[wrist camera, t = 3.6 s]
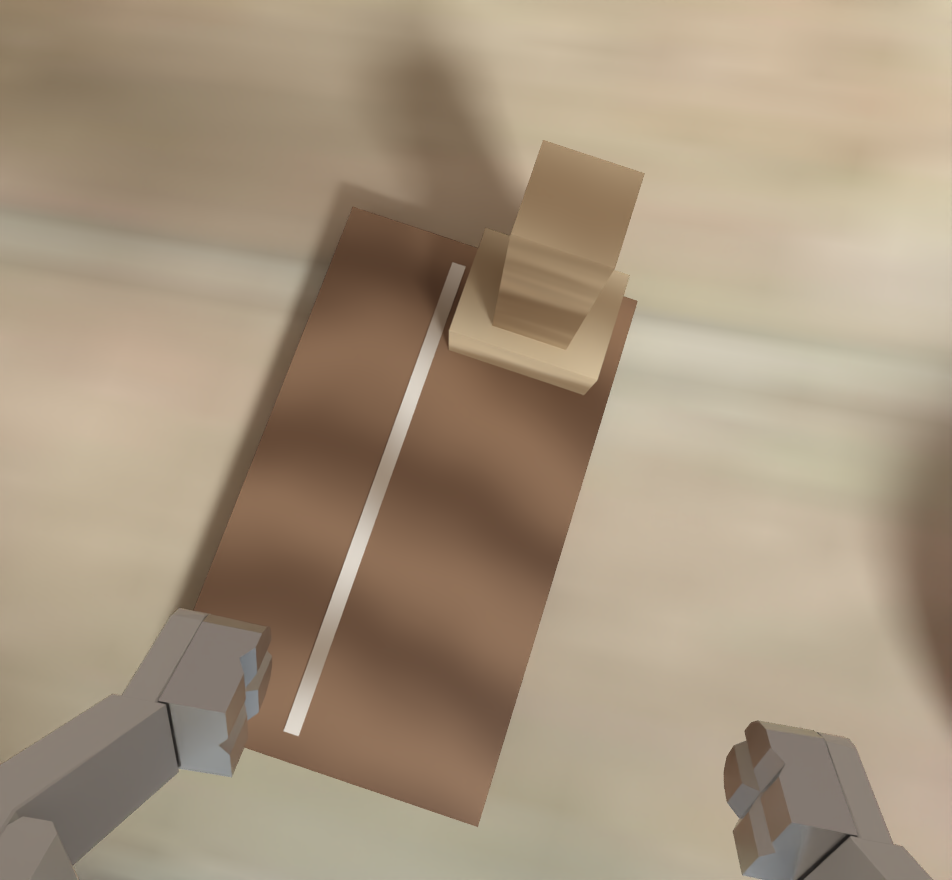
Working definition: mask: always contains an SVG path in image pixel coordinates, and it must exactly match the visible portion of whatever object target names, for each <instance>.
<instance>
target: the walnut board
mask: <svg viewBox="0 0 952 880" xmlns="http://www.w3.org/2000/svg"><path fill="white" fill-rule="evenodd" d="M477 250H478V248H476V247H473V246H470V245H467V244H464V243H461V242H458V241H455V240H452V239H449V238H446V237H443V236H440V235H437V234H434V233H431V232H428V231H425V230H422V229H419V228H416V227H413V226H410V225H407V224H404V223H401V222H398V221H395V220H392V219H389V218H386V217H383V216H380V215H376V214H373V213H370V212H367V211H364V210H361V209H358V208H355V207H352V210H351V212H350V215H349V218H348V220H347V223H346V225H345V228H344V230H343V233H342V235H341V238H340V240H339V243H338V245H337V248H336V250H335V253H334V255H333V258H332V261H331V263H330V266H329V268H328V271H327V273H326V276H325V278H324V281H323V283H322V286H321V288H320V291H319V293H318V296H317V299H316V301H315V304H314V306H313V309H312V311H311V314H310V316H309V319H308V321H307V324H306V326H305V329H304V331H303V334H302V336H301V339H300V342H299V344H298V347H297V349H296V352H295V354H294V357H293V359H292V362H291V364H290V367H289V369H288V372H287V374H286V377H285V380H284V382H283V385H282V387H281V390H280V392H279V395H278V397H277V400H276V402H275V405H274V407H273V410H272V412H271V415H270V418H269V420H268V423H267V425H266V428H265V430H264V433H263V435H262V438H261V440H260V443H259V445H258V448H257V450H256V453H255V455H254V458H253V461H252V463H251V466H250V468H249V471H248V473H247V476H246V478H245V481H244V483H243V486H242V488H241V491H240V493H239V496H238V499H237V501H236V504H235V506H234V509H233V511H232V514H231V516H230V519H229V521H228V524H227V526H226V529H225V531H224V534H223V536H222V539H221V542H220V544H219V547H218V549H217V552H216V554H215V557H214V559H213V562H212V564H211V567H210V569H209V572H208V574H207V577H206V580H205V582H204V585H203V587H202V590H201V592H200V595H199V597H198V600H197V602H196V605H195V607H194V610H193V611H198V612H203V613H208V614H211V615H216V616H221V617H226V618H231V619H235V620H240V621H245V622H250V623H255V624H259V625H264V626H269V627H271V638H272V640H271V642H270V644H269V647H268V649H267V651H268V652H269V653H270V654H271V655H272V670H271V677H270V681H269V685H268V688H267V692H266V695H265V698H264V700H263V703H262V706H261V708H260V711H259V712H258V713H257V714H256V715H254V716H253V717H252V718H250V719H249V720H248V721H247V722H248V740H247V742H246V744H245V748H248V749H251V750H254V751H256V752H259V753H262V754H265V755H268V756H271V757H274V758H277V759H280V760H283V761H286V762H289V763H292V764H295V765H298V766H301V767H303V768H306V769H309V770H312V771H315V772H318V773H321V774H324V775H327V776H330V777H333V778H336V779H339V780H342V781H345V782H347V783H350V784H353V785H356V786H359V787H362V788H365V789H368V790H371V791H374V792H377V793H380V794H383V795H386V796H389V797H391V798H394V799H397V800H400V801H403V802H406V803H409V804H412V805H415V806H418V807H421V808H424V809H427V810H430V811H433V812H436V813H438V814H441V815H444V816H447V817H450V818H453V819H456V820H459V821H462V822H465V823H468V824H471V825H474V826H477V827H478V824H479V821H480V818H481V814H482V811H483V808H484V805H485V801H486V798H487V795H488V791H489V788H490V785H491V782H492V778H493V775H494V772H495V768H496V765H497V762H498V759H499V755H500V752H501V749H502V745H503V742H504V739H505V735H506V732H507V729H508V726H509V722H510V719H511V716H512V712H513V709H514V706H515V703H516V699H517V696H518V693H519V689H520V686H521V683H522V680H523V676H524V673H525V670H526V666H527V663H528V660H529V657H530V653H531V650H532V647H533V643H534V640H535V637H536V634H537V630H538V627H539V624H540V620H541V617H542V614H543V610H544V607H545V604H546V601H547V597H548V594H549V591H550V587H551V584H552V581H553V578H554V574H555V571H556V568H557V564H558V561H559V558H560V555H561V551H562V548H563V545H564V541H565V538H566V535H567V532H568V528H569V525H570V522H571V518H572V515H573V512H574V509H575V505H576V502H577V499H578V495H579V492H580V489H581V486H582V482H583V479H584V476H585V472H586V469H587V466H588V462H589V459H590V456H591V453H592V449H593V446H594V443H595V439H596V436H597V433H598V430H599V426H600V423H601V420H602V416H603V413H604V410H605V407H606V403H607V400H608V397H609V393H610V390H611V387H612V384H613V380H614V377H615V374H616V370H617V367H618V364H619V361H620V357H621V354H622V351H623V347H624V344H625V341H626V338H627V334H628V331H629V328H630V324H631V321H632V318H633V314H634V311H635V308H636V305H637V301H636V300H633V299H630V298H627V297H624V296H623V299H622V302H621V305H620V309H619V312H618V315H617V318H616V322H615V325H614V328H613V331H612V335H611V338H610V341H609V344H608V348H607V351H606V354H605V357H604V361H603V364H602V367H601V370H600V374H599V377H598V380H597V381H596V382H595V384H594V385H593V386H592V387H591V388H590V389H589V390H588V391H587V392H586V394H585V395H582V394H579V393H576V392H573V391H570V390H567V389H564V388H561V387H558V386H555V385H552V384H549V383H546V382H543V381H540V380H537V379H534V378H531V377H528V376H525V375H522V374H519V373H516V372H513V371H510V370H507V369H504V368H501V367H498V366H495V365H492V364H489V363H486V362H483V361H480V360H477V359H474V358H471V357H468V356H465V355H462V354H459V353H456V352H453V351H450V350H449V329H450V326H451V323H452V321H453V318H454V315H455V312H456V309H457V306H458V304H459V301H460V298H461V295H462V292H463V290H464V287H465V284H466V281H467V278H468V275H469V273H470V270H471V267H472V264H473V261H474V258H475V256H476V253H477Z"/></svg>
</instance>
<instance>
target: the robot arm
mask: <svg viewBox="0 0 952 880" xmlns="http://www.w3.org/2000/svg"><path fill="white" fill-rule="evenodd" d="M271 640H272V638H271V627H269V626H264V625H259V624H255V623H250V622H245V621H240V620H235V619H231V618H226V617H221V616H216V615H211V614H208V613H203V612H198V611H193V610H187V609H182V608H178V609H177V610H176V611H175V612H174V613H173V614H172V615H171V616H170V617H169V619H168V620H167V622H166V624H165V625H164V627H163V629H162V630H161V632H160V633H159V635H158V637H157V638H156V640H155V642H154V643H153V645H152V646H151V648H150V650H149V651H148V653H147V655H146V656H145V658H144V659H143V661H142V663H141V664H140V666H139V667H138V669H137V671H136V672H135V674H134V676H133V677H132V679H131V680H130V682H129V684H128V685H127V687H126V689H125V690H124V692H123V693H122V695H117V694H111V695H109V696H108V697H106V698H105V699H103V700H101V701H100V702H98V703H97V704H95V705H94V706H92V707H90V708H89V709H87V710H86V711H84V712H83V713H81V714H79V715H78V716H76V717H75V718H73V719H72V720H70V721H68V722H67V723H65V724H64V725H62V726H61V727H59V728H57V729H56V730H54V731H53V732H51V733H50V734H48V735H46V736H45V737H43V738H42V739H40V740H39V741H37V742H35V743H34V744H32V745H31V746H29V747H28V748H26V749H24V750H23V751H21V752H20V753H18V754H16V755H15V756H13V757H12V758H10V759H9V760H7V761H5V762H4V763H2V764H1V765H0V880H79V878H78V876H77V874H76V872H75V870H74V867H73V865H74V864H75V863H76V862H77V861H78V860H80V859H81V858H82V857H83V856H84V855H85V854H86V853H88V852H89V851H90V850H91V849H92V848H93V847H94V846H95V845H97V844H98V843H99V842H100V841H101V840H102V839H103V838H105V837H106V836H107V835H108V834H109V833H110V832H111V831H112V830H114V829H115V828H116V827H117V826H118V825H119V824H120V823H122V822H123V821H124V820H125V819H126V818H127V817H128V816H129V815H131V814H132V813H133V812H134V811H135V810H136V809H137V808H139V807H140V806H141V805H142V804H143V803H144V802H145V801H146V800H148V799H149V798H150V797H151V796H152V795H153V794H154V793H156V792H157V791H158V790H159V789H160V788H161V787H162V786H163V785H165V784H166V783H167V782H168V781H169V780H170V779H171V778H173V777H174V776H175V775H176V774H177V773H178V772H179V770H178V768H179V769H185V770H191V771H197V772H203V773H210V774H216V775H222V776H228V777H232V776H233V773H234V771H235V768H236V766H237V764H238V761H239V759H240V756H241V754H242V752H243V749H244V747H245V744H246V742H247V740H248V722H247V721H248V720H249V719H250V718H252V717H253V716H254V715H256V714H257V713H258V712H259V711H260V708H261V706H262V703H263V700H264V698H265V695H266V692H267V688H268V685H269V681H270V677H271V670H272V655H271V654H270V653H269V652H268V651H267V649H268V647H269V644H270V642H271ZM745 735H746V740H747V741H744V742H742V743H739V744H736V745H734V746H733V748H732V749H731V751H730V752H729V754H728V756H727V758H726V763H725V768H724V789H725V794H726V799H727V803H728V804H729V806H730V807H731V808H732V810H733V811H734V812H735V814H736V815H737V816H738V818H739V820H738V822H737V824H736V826H735V828H734V830H733V834H734V839H735V844H736V849H737V854H738V858H739V863H740V868H741V873H742V875H744V876H748V877H753V878H757V879H762V880H933V879H932V878H931V877H930V876H929V875H928V874H927V872H926V871H925V870H924V869H923V868H922V867H921V866H920V865H919V864H918V862H917V861H916V860H915V859H914V858H913V857H912V856H911V855H910V854H909V853H908V851H907V850H906V849H905V848H904V847H903V846H900V845H896V844H893V841H892V839H891V836H890V834H889V831H888V829H887V826H886V824H885V821H884V818H883V816H882V813H881V811H880V808H879V806H878V803H877V801H876V798H875V795H874V793H873V790H872V788H871V785H870V783H869V780H868V778H867V775H866V772H865V770H864V767H863V765H862V762H861V760H860V757H859V754H858V752H857V749H856V747H855V745H854V744H853V743H852V742H851V740H850V739H848V738H846V737H843V736H837V735H832V734H826V733H820V732H815V731H814V730H809V729H803V728H798V727H792V726H786V725H781V724H775V723H769V722H764V721H755V722H751V723H750V724H749V726H748V727H747V728H746V730H745Z"/></svg>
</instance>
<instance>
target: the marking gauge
mask: <svg viewBox="0 0 952 880" xmlns="http://www.w3.org/2000/svg"><path fill="white" fill-rule="evenodd" d="M644 174H645V173H642V172H639V171H636V170H633V169H630V168H627V167H624V166H620V165H617V164H614V163H611V162H608V161H605V160H602V159H599V158H596V157H593V156H590V155H587V154H584V153H581V152H578V151H575V150H572V149H569V148H566V147H563V146H560V145H557V144H554V143H551V142H548V141H545V140H543V142H542V145H541V148H540V151H539V154H538V157H537V159H536V162H535V165H534V168H533V171H532V174H531V177H530V180H529V183H528V185H527V188H526V191H525V194H524V197H523V200H522V203H521V206H520V209H519V211H518V214H517V217H516V220H515V223H514V226H513V229H512V232H511V235H510V236H509V235H506V234H503V233H500V232H497V231H494V230H491V229H488V228H485V230H484V233H483V236H482V239H481V242H480V244H479V247H478V250H477V253H476V256H475V258H474V261H473V264H472V267H471V270H470V273H469V275H468V278H467V281H466V284H465V287H464V290H463V292H462V295H461V298H460V301H459V304H458V306H457V309H456V312H455V315H454V318H453V321H452V323H451V326H450V329H449V350H450V351H453V352H456V353H459V354H462V355H465V356H468V357H471V358H474V359H477V360H480V361H483V362H486V363H489V364H492V365H495V366H498V367H501V368H504V369H507V370H510V371H513V372H516V373H519V374H522V375H525V376H528V377H531V378H534V379H537V380H540V381H543V382H546V383H549V384H552V385H555V386H558V387H561V388H564V389H567V390H570V391H573V392H576V393H579V394H582V395H585V394H586V392H587V391H588V390H589V389H590V388H591V387H592V386H593V385H594V384H595V382H596V381H597V380H598V377H599V374H600V370H601V367H602V364H603V361H604V357H605V354H606V351H607V348H608V344H609V341H610V338H611V335H612V331H613V328H614V325H615V322H616V318H617V315H618V312H619V309H620V305H621V302H622V299H623V296H624V293H625V289H626V286H627V283H628V280H629V276H630V275H627V274H624V273H621V272H618V271H615V270H614V269H615V266H616V263H617V260H618V257H619V254H620V250H621V247H622V244H623V241H624V238H625V235H626V231H627V228H628V225H629V222H630V219H631V215H632V212H633V209H634V206H635V203H636V199H637V196H638V193H639V190H640V187H641V183H642V180H643V177H644Z"/></svg>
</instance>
